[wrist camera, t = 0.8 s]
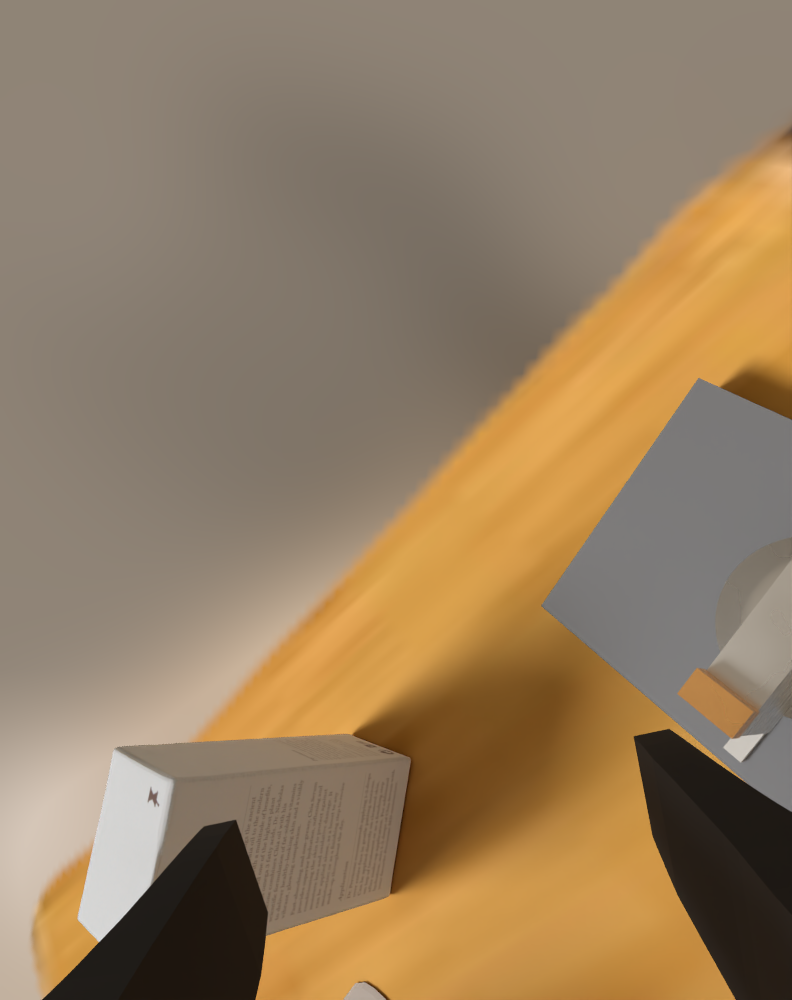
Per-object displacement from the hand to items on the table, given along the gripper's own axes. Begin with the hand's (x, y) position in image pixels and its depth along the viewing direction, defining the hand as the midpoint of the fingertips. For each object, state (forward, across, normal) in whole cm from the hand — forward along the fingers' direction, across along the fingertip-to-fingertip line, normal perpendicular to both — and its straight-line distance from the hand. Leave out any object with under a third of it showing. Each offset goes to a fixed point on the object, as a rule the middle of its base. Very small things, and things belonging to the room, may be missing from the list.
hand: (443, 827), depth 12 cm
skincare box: (+17, +5, +12) cm, 21 cm away
